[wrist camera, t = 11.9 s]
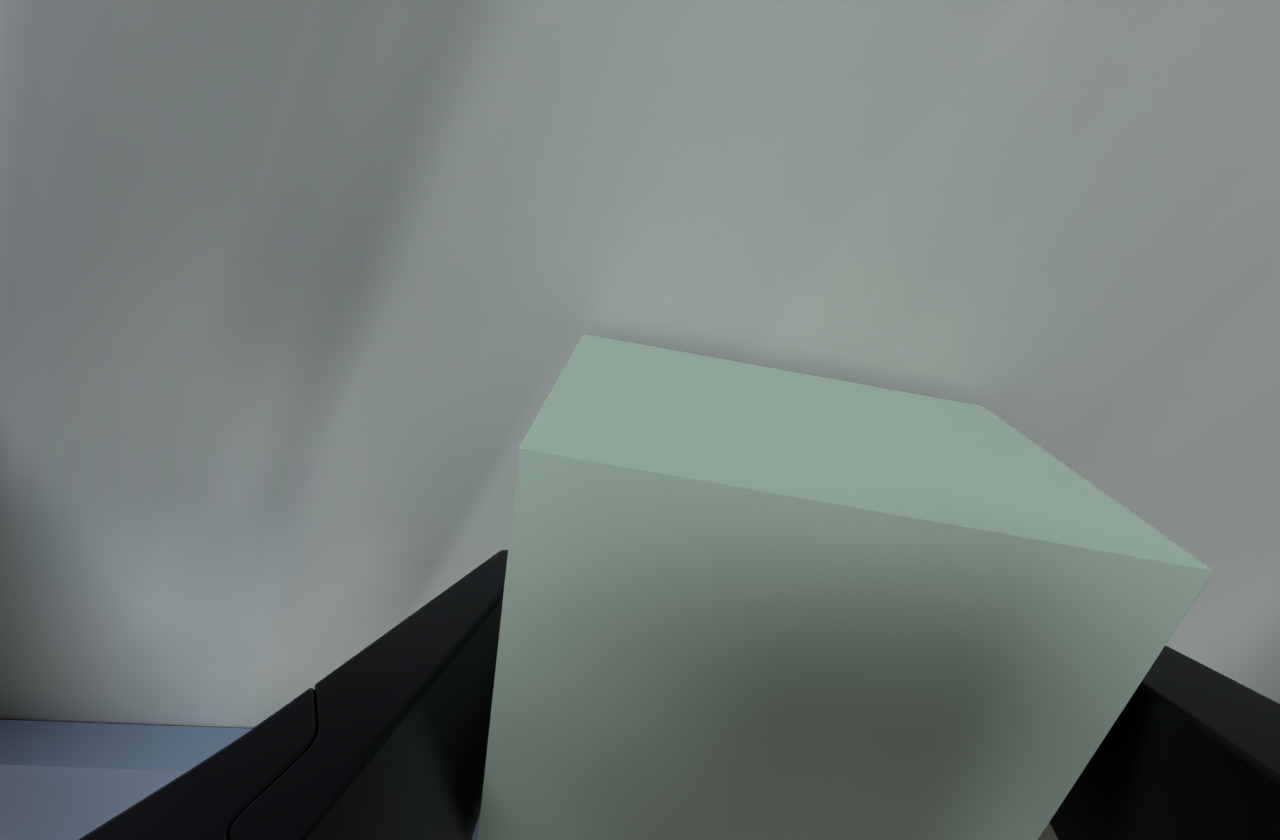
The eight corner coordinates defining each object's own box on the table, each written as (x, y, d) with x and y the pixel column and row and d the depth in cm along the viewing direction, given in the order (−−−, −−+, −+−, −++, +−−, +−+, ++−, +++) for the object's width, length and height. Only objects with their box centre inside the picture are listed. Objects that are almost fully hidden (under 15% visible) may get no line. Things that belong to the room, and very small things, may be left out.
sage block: (983, 406, 9) (1214, 569, 5) (858, 702, 11) (953, 967, 7) (583, 333, 9) (518, 447, 5) (539, 649, 11) (472, 891, 7)
